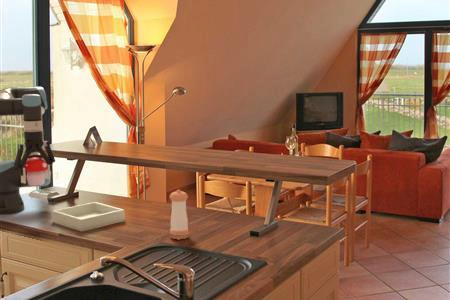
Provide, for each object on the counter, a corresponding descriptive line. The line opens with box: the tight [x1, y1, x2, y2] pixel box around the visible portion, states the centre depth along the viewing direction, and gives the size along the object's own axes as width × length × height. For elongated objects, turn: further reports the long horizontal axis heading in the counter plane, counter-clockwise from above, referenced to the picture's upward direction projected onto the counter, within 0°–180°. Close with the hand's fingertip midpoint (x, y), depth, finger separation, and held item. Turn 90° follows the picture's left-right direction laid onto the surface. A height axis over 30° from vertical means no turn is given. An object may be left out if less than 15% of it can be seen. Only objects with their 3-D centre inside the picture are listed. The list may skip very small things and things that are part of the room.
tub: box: [51, 201, 126, 232], centre depth 252 cm, size 22×22×5 cm
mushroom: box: [23, 157, 48, 187], centre depth 251 cm, size 11×11×12 cm
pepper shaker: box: [169, 189, 190, 235], centre depth 226 cm, size 7×7×19 cm
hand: (35, 180), depth 252 cm, fingers closed on mushroom, 11 cm apart
